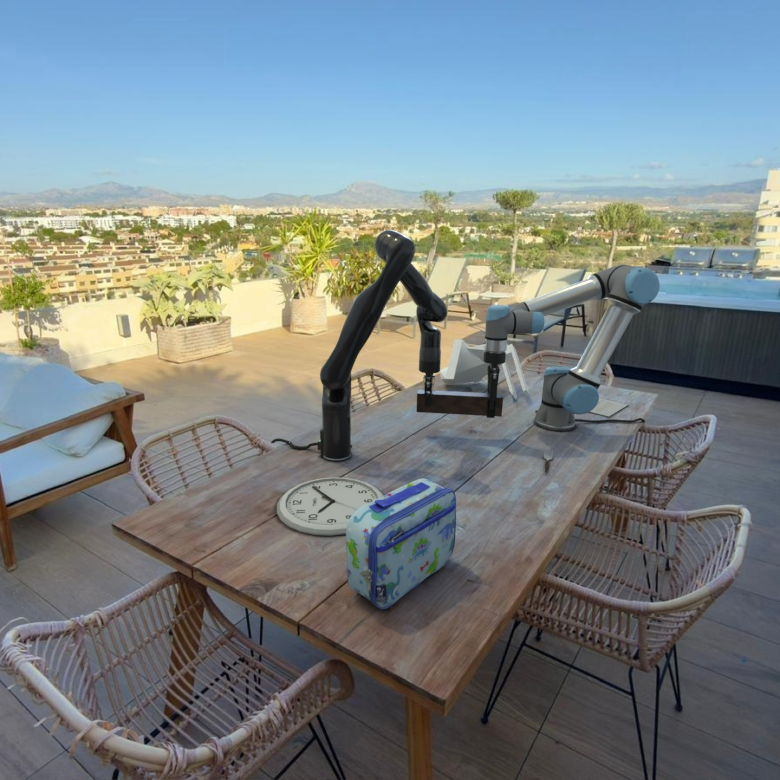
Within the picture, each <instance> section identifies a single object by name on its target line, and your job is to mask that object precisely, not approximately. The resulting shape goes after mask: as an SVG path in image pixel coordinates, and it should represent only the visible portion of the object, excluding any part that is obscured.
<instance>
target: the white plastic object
mask: <svg viewBox="0 0 780 780" xmlns="http://www.w3.org/2000/svg"><path fill="white" fill-rule="evenodd" d="M484 345H485V344H483V343H482V344H479V345H473V346H469V345H468V343H466V342H465V340H464V339H463V338H460V339H458V338H454V340H453V344H452V349H451V353H450V357H449V362H448V366H446V367H444V368H442V369H441V368H440V371H439V372H438V373H439V376H440V381H442V383H443V384H444V385H445V386H449V385H458V384H467V383H468V384H469V383H473V384H477V383H480V382H482V381H484V378H485V377H486V376H488V370H487V368H488V365H489V364H490V363H489V364H488V363H485V362H484V361H483V356H484V351H485V349H484ZM505 353H506V359H505V363H503V364H498V367H499V368H500V366H502V370H503V373H504V376H505V380H506V383H507V386H508V390H509V393H510V394H511V395H512V397H513V398H514V399H515V400H517V392H516V391H517V390H516V388H515V385H514V381H513V378H512V375H511V371H510V369H509V365H508V361H510V360H513V363H514V366H515V369H516V372H517V376H518V380H519V382H520V385H521V389H522V391H523V393H524V395H525V396H526V397H528V396H531V395H530V390H529V388H528V387H529V386H528V384H527V381H526V378H525V375H524V371H523V369H522V368H523V367H522V366H521V362H520V359H519V355H518V352H517V349H516V347H515V346H514V345H513V343H511V344H508V343H507V349H506V351H505Z"/></svg>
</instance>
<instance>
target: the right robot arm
mask: <svg viewBox="0 0 780 780" xmlns="http://www.w3.org/2000/svg"><path fill="white" fill-rule="evenodd" d="M660 284H661V283H660V280H659V276H658V275H657V273H656V272H655V271H654V270H652V269H650V268H647V267H643V266H636V265H628V264H618V265H614V266H611V267H608V268H606V269H602V270H599V271H597V272H595V273H592V274H590V275H588V277H587V279H583V280H581V281H578V282H575V283H573V284H570V285H567V286H565V287H562V288H559V289H556V290H553V291H550V292H547V293H545V294H542V295H540V296H536V297H534V298H530V299H529V300H525V301H523V302H520V303H517V304H507V305H502V304H501V305H500V304H492V305H489V306H488V307H487V310H486V315H485V330H484V331H485V333H484V340H483V341H482V345H483V344H485V345H484V349H485V351H484V356H483V361H484V362H485V363H488V364H489V363H490V364H489V365H488V368H487V370H488V374H487V385H486V393H489V398H488V399H487V398H486V400H488V405H487V416H486V418H488V419H489V418H490V419H495V418H496V416H495V405H496V400H497V394H498V386H499V385H498V384H499V379H500V378H499V376H500V373H501V368H500V366H499V367H498V364H501V365H502V364H503V363H505V359H506V353H505V351H506V349H507V344H508V336H509V335H536V334H537V335H538V334H541V333H542V332H543V330H544V328H545V317H547V316H549V315H552V314H555V313H558V312H561V311H564V310H566V309H569V308H572V307H575V306H577V305H581V304H583V303H587V302H589V301H592V300H595V301H600V300H603V299H606V300H607V303H608V306H607V308H606V310H605V311H604V313H603V316H602V317H601V319H600V321H599V323H598V325H597V326H596V329H595V330H594V332H593V334H592V336H591V338H590V340H589V341H588V344H587V345H586V348H585V349H584V351H583V353H582V355H581V357H580V359H579V361H578V362H577V365H576V366H575V367H570V366H549V367H547V368H545V370H544V373H543V381H542V382H543V383H542V394H541V402H540V405H539V407H538V409H536V410H535V411H534V414H535V416H534V424H535V425H536V426H537V427H539V428H542V429H544V430H549V431H556V432H567V431H572V430H574V429H575V428H576V422H579V423H591V424H592V423H593V424H597V423H598V424H601V423H627V424H628V423H629V424H630V423H636V422H639V421H641V422H643V423H646V420H645V419H644V418H642V417H637V418H636V419H614V418H613V419H612V418H611V419H597V420H596V419H595V420H593V419H581V418H575V417H576V416H575V415H578V416H579V415H584V414H588V413H591V412H590V411H591V410H593V409H594V408H595V407H596V405H597V403H598V401H599V398H600V396H599V395H600V394H599V391H598V390H599V388H600V386H601V384H602V382H601V379H600V377H601V375H602V373H603V371H604V369H606V366H607V365H608V363H609V360H610V359H611V356H612V355H613V353H614V352H615V350H616V348H617V346H618V344H619V342H620V340H621V339H622V337H623V334H624V333H625V331H626V329H627V327H628V325H629V324H630V321H632V317H633V316H634V315H636V314H638V313H641V312H642V310H643V308H644V306H645V305H647V304H649V303H651V302H652V301H654V300H655V299H656V298H657V296H658V294H659V292H660V286H661V285H660Z"/></svg>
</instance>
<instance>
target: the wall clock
mask: <svg viewBox="0 0 780 780" xmlns="http://www.w3.org/2000/svg"><path fill="white" fill-rule="evenodd" d="M384 495H385V494H384V493H383V492H382V491H381V490H380V489H379V488H377V487H376V486H374V485H372V484H371V483H369V482H365V481H362V480H359V479H355V478H349V477H338V476H337V477H335V476H333V477H332V476H331V477H322V478H317V479H312V480H307V481H305V482H302V483H299V484H297V485H295V486H293V487H292V488H290V489H288V490H287V491H286V492H285V493H284V494H283V495H281V496H280V498H279V499H278V502H277V503H276V515H277V517H278V518H279V520H280V521H281V522H282V523H283V524H285V525H286V526H287V527H288V528H290V529H293V530H295V531H297V532H299V533H303V534H308V535H312V536H327V537H328V536H329V537H331V536H332V537H333V536H342V535H346V528H347V524H348V521H349V519H350V517H351V515H352V514H353V513H354V512H355V511H356V510H357V509H358V508H360V507H362V506H364V505H366V504H368V503H370V502H372V501H374V500H376V499H378V498H380V497H382V496H384Z"/></svg>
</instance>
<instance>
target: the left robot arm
mask: <svg viewBox="0 0 780 780" xmlns="http://www.w3.org/2000/svg"><path fill="white" fill-rule="evenodd" d="M374 250H375V254H376V255H377V257H378V259H380V260H381V261H383V262H384V267H383V268H382V271H381V273H380V274H379V276H378V277H377V279H375V281H374V282H373V283H371V284H370V285H369V286H367V287H366V288H365V289H363V290H362V291H361V292H360V293H359V294H358V295H357V296H356V297H355V298H354V301H353V303H352V304H351V306H350V309H349V311H348V312H347V315H346V318H345V320H344V322H343V325H342V328H341V330H340V333H339V337H338V340H337V342H336V344H335V346H334V347H333V350H332V352H331V354H330V355H329V357H328V358H327V359H326V360H325V361H324V363H323V365H322V366H321V368H320V371H319V379H320V382H321V384H322V393H321V422H322V423H321V425H322V428H321V429H319V440H317V442H316V441H315V442H311V443H309V444H308V445H302V446H301V445H294V444H293V442H292V441H290V440H287V439H284V438H274V439H272V440H271V441H270V443H271V444H274V443H276V442H282V443H284V444H288V445H289V446H290V448H293V449H296V450H308V449H310V448H311V447H314V446H315V447H316V446H317V451H319V452H320V458H324V460H326V461H330V462H343V461H346V460H348V459H350V458H351V457H352V449H353V445H352V430H351V429H352V426H351V425H352V423H351V421H352V419H351V417H352V415H351V406H352V405H351V401H352V400H351V399H352V371H353V367H354V366H355V363H356V361H357V358H358V356H359V355H360V352H361V351H362V349H363V348H364V347H365V345H366V344H367V342H368V341H369V338H370V337H371V335H372V334H373V332H374V330H375V328H377V327H376V326H377V324H378V323H379V321H380V319H381V317H382V314H383V312H384V310H385V308H386V307H387V304H388V303H389V300H390V299H391V297H392V295H393V293H394V291H395V289H396V288H397V286H398V284H399V283H401V285H402V286H403V288H404V289H405V291H406V292H407V294H408V296H409V297H410V299H411V300H412V302H413V303H414V304H415V306H416V310H415V315H416V320H417V323H418V328H419V332H420V345H419V352H418V371H419V372H420V373H422V374H423V373H424V375H423V377H422V382H423V390H424V397H425V407H431V396H432V391H434V386H435V380H436V375H435V374H438V373H440V372H439V371H440V370H441V362H442V361H441V359H442V349H441V345H442V344H441V343H442V332H441V329H439V328H437V327H435V326H433V325H432V323H442V322H444V321H445V320H446V319H447V317H448V306H447V305H446V303H445V301H444V300H443V299H442V298H441V297H440V296H439V295H438V294H437V293H435V292H434V291H433V290H432V288H431V286H430V285H429V282H428V281H427V280H426V278H425V277H424V276H423V274H422V273H421V272H420V271H419V270H418V269H417V268H416V266H414V264H413V263H412V261H413V260H414V257H415V254H416V244H415V242H414V241H413V240H412V239H411V238H409V237H408V236H405V235H404V234H402V233H401V232H398V231H396V230H393V229H386V230H383V231H381V232H380V233H379V234H378V235H377V237H376V239H375V242H374ZM426 391H429V392H430V393H426ZM289 442H290V443H289Z"/></svg>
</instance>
